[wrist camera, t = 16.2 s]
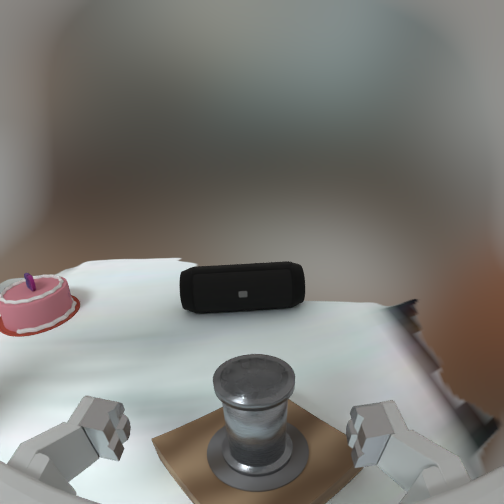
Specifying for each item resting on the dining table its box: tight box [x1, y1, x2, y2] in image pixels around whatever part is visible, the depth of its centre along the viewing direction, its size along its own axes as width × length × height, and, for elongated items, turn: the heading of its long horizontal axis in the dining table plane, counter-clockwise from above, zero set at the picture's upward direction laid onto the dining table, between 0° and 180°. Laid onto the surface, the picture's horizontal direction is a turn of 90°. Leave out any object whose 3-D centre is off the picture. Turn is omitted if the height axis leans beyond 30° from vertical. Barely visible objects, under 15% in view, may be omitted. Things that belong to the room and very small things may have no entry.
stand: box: [152, 399, 363, 504], centre depth 26 cm, size 16×16×4 cm
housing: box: [213, 354, 295, 477], centre depth 24 cm, size 7×7×10 cm
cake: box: [0, 273, 80, 336], centre depth 62 cm, size 25×25×11 cm
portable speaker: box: [180, 262, 305, 313], centre depth 66 cm, size 26×10×10 cm, turn 94°
